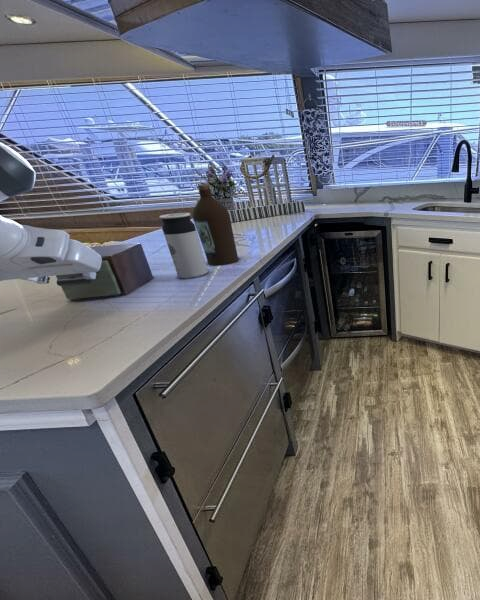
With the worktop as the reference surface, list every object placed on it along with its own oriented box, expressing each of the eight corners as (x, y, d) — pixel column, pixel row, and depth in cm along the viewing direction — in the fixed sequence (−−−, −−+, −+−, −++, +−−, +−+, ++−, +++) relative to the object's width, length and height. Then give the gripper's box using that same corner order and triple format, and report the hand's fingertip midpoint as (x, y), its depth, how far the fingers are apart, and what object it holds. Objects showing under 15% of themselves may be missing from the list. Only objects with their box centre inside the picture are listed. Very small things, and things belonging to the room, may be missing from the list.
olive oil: (228, 255, 118) (209, 183, 108) (246, 259, 113) (229, 183, 103) (199, 263, 109) (176, 186, 99) (218, 267, 104) (196, 186, 94)
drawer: (108, 300, 78) (93, 266, 75) (54, 306, 76) (36, 271, 73) (145, 277, 94) (134, 248, 91) (101, 281, 92) (88, 252, 89)
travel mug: (205, 268, 103) (188, 211, 96) (210, 274, 98) (193, 214, 91) (176, 274, 99) (156, 215, 92) (180, 280, 93) (159, 218, 86)
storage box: (126, 294, 84) (110, 255, 80) (71, 300, 82) (51, 260, 78) (153, 277, 97) (140, 242, 93) (106, 281, 95) (91, 246, 91)
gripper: (-62, 267, 59) (13, 296, 72) (67, 256, 63) (116, 286, 75) (-51, 238, 61) (20, 271, 74) (73, 229, 65) (120, 262, 78)
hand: (69, 278), depth 75 cm, fingers open, 8 cm apart
